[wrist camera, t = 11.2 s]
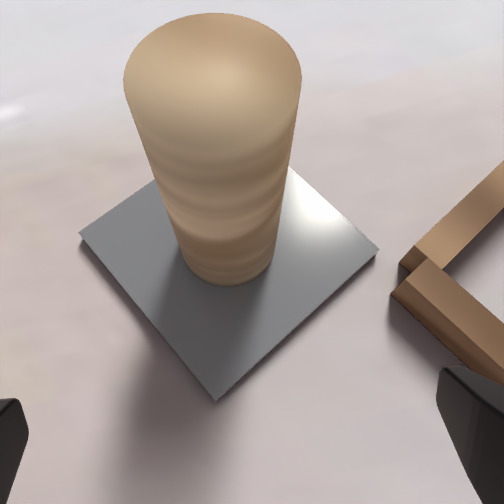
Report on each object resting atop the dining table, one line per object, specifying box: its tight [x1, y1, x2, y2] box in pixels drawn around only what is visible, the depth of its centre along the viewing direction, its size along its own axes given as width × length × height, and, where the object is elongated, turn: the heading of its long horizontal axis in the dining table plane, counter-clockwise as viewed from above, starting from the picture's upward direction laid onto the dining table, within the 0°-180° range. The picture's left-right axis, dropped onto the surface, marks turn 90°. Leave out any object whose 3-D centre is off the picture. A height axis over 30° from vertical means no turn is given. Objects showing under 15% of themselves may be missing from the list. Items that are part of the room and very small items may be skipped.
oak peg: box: [123, 13, 302, 287], centre depth 15 cm, size 4×4×10 cm
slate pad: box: [78, 166, 380, 401], centre depth 20 cm, size 10×10×1 cm
